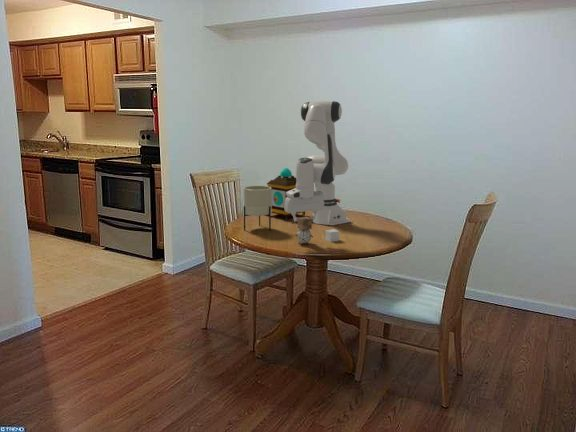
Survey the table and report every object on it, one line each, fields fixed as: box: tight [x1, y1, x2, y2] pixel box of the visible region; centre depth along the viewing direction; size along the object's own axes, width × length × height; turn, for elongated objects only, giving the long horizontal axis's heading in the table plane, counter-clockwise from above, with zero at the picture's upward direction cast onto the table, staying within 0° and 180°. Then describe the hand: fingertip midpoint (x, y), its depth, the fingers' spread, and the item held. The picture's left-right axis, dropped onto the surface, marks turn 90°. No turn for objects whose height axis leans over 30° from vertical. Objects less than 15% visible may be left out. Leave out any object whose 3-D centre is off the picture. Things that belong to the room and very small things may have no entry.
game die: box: [294, 228, 314, 245], centre depth 228 cm, size 9×8×10 cm
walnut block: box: [297, 216, 313, 230], centre depth 227 cm, size 5×5×5 cm
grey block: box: [324, 228, 340, 243], centre depth 235 cm, size 5×5×5 cm
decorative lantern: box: [266, 167, 306, 221], centre depth 286 cm, size 20×20×30 cm
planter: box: [243, 185, 273, 232], centre depth 255 cm, size 15×16×23 cm
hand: (304, 220), depth 226 cm, fingers open, 8 cm apart
